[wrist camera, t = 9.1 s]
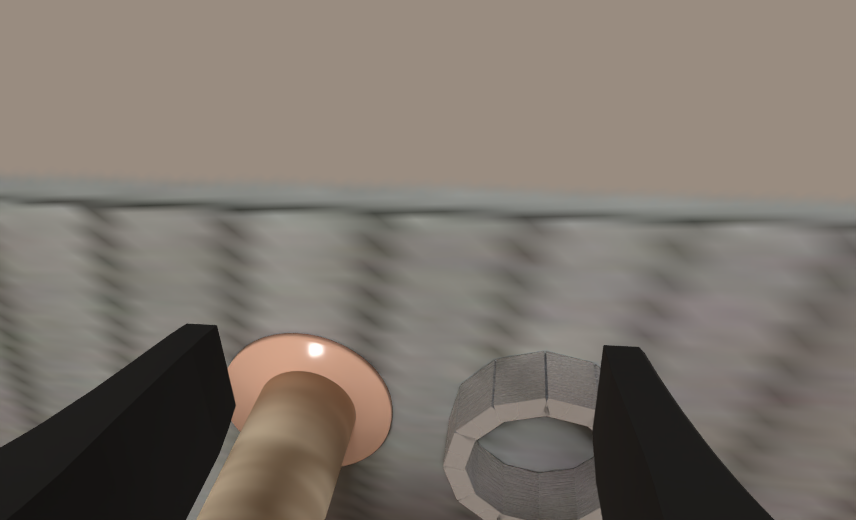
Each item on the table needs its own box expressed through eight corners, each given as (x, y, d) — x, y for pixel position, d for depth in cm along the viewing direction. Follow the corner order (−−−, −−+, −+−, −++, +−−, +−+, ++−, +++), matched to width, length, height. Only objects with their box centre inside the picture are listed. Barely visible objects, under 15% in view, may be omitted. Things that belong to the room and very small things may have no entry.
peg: (375, 410, 27) (331, 567, 21) (319, 459, 29) (265, 615, 23) (294, 353, 26) (224, 501, 20) (241, 408, 28) (163, 557, 22)
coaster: (428, 407, 27) (426, 414, 27) (324, 483, 30) (321, 490, 30) (290, 302, 25) (286, 308, 25) (194, 395, 28) (190, 401, 28)
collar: (672, 430, 26) (685, 481, 24) (536, 507, 30) (537, 558, 27) (546, 321, 24) (548, 367, 22) (416, 416, 28) (407, 464, 25)
